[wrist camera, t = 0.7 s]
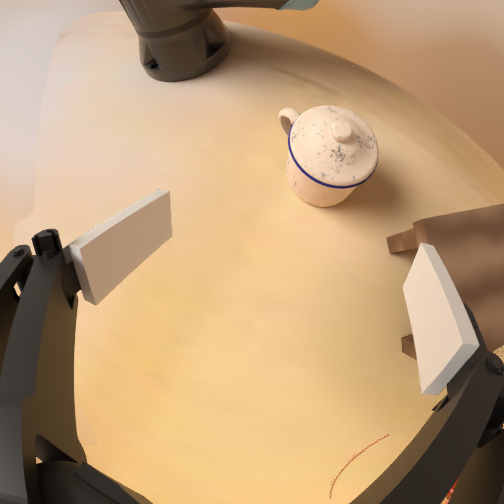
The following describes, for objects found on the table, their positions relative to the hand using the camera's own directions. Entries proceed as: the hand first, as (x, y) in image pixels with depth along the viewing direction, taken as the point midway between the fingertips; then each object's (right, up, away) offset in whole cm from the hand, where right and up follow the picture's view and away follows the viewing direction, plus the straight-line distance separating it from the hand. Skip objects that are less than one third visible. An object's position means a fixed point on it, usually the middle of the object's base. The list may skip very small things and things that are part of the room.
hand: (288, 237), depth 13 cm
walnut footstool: (+24, -5, +17) cm, 30 cm away
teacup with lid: (+6, +10, +20) cm, 23 cm away
